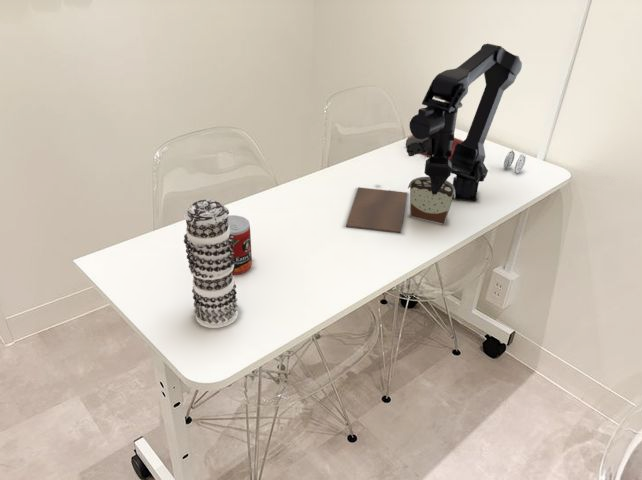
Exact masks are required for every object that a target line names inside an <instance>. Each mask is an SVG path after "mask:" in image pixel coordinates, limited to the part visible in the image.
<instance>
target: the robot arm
mask: <svg viewBox="0 0 642 480" xmlns="http://www.w3.org/2000/svg"><path fill="white" fill-rule="evenodd" d="M522 68H523V63H522V61H521V58H520V56H519V55H515V54H513V53H511V52H509V51H508V50H507V49H506V48H504V47H502V46H501V45H498V44H493V43H489V42H487V43H484V44H483V45H482V46H481V47H480V49H479V50H478V51H477V52H476V53H474V54H472V55H471V56H470V57H468V59H466V60H465V61H464V62H463V63H461V64H460V65H459V66H457V67H456V68H451V69H446V70H443V71H442V72H439V73H437V75H436V76H434V78H433V79H432V81H431V83H430V85H429V87H428V89H427V91H426V94H425V95H424V97H423V100H422V102H421V105H422V106H426V107H422V108H419V109H418V111H417V114H415V115H413V116H412V117H411V119H410V121H409V125H408V126H409V131H410V133H411V135H413V136H414V137H411V138H408V137H407V138H408V139H406V140H405V148H406V153H407V155H408V157H414V156H416V155H420V154H421V153H424V152H426V151H427V153H426V155H430V157H428V158H427V159H426V160H425V165H424V173H423V174H424V175H426V176H427V177H430V180H431V190H432V194H434V195H436V194H437V193H438V191H439V190H440V188H441V187H442V185H443V184H444V182H445V181H448V178H450V176H451V175H452V174H453V175H455V176H454V177H453V179H452V183H451V184H452V185H453V186H454V189H455V199H454V194H453V197H452V200H457V201H468V202H477V199H478V198H477V195H478V191H479V184H480V182H484V181H485V179H486V178H487V175H488V172H489V170H488V168H487V167H486V165H485V163H484V161H485V159H486V150H485V146H484V144H485V141H486V139H487V136H488V133H489V131H490V129H491V126H492V123H493V121H494V118H495V115H496V113H497V110H498V108H499V105H500V102H501V100H502V97H503V94H504V92H505V91H506V90H507V89H508V88H509V87H510V86H512V85H513V84H514V83H515V81H516V79H517V77H518V75H519V74H520V72H521V70H522ZM482 75H483V76H484V82H485V86H484V89H483V92H482V94H481V97H480V100H479V102H478V106H477V109H476V111H475V114H474V116H473V119H472V122H471V124H470V127H469V130H468V133H467V135H466V137H465V139H463V140H462V141H463V142H462V143H461V144H459V143H458V144H457V145H456V146H455V150H454V152H453V155H452V156H451V154H452V144H453V141H454V137H455V131H456V124H457V119H458V118H457V117H458V111H459V109H460V108H462V107H463V103H462V101H463V99H464V98H465V97H466V96H467V94H468V93H469V86H470V85H471V84H473V83H474V82H475V81H476V80H477V79H479V78H480V77H481V76H482ZM421 155H422V154H421ZM449 157H451V159H450V160H449Z"/></svg>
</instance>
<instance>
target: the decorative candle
mask: <svg viewBox="0 0 642 480" xmlns="http://www.w3.org/2000/svg"><path fill="white" fill-rule="evenodd" d="M229 215H230V211H229V208H228V207H226V205H223V204H222V203H220V202H219V201H217V200H214V199H199V200H197V201H195V202H193V203H192V204H190V206H189V207H188V208H187V209H185V210H184V213H183V218H184V220H185V222H186V227H185V232H186V233H185V234H184V235H183V236H184V237H183V238H184V239H183V244H185V253H186V259H187V260H188V268H189V272H190V274H191V275H192V277H193V280H192V285H193V286H192V290H191V292H192V294H193V296H192V299H193V300H194V302H193V307H194V313H195V319H196V321H197V323H199V325H201V326H202V327H205V328H209V329H218V328H224V327H227V326H229V325H231V324H232V323H234V321H236V319H237V318H238V314H239V311H238V309H237V308H238V306H239V305H238V303H237V302H238V298H237V292H238V291H236V289H237V285H236V284H235V277H234V276H233V275H234V274H232V271H233V268H234V260H235V259H234V258H233V257H234V251H233V250H232V249H233V248H234V242H232V241H233V240H234V238H233V234H231V233H230V226H229V224H228V216H229ZM229 237H230V239H229ZM229 244H230V246H229Z"/></svg>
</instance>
